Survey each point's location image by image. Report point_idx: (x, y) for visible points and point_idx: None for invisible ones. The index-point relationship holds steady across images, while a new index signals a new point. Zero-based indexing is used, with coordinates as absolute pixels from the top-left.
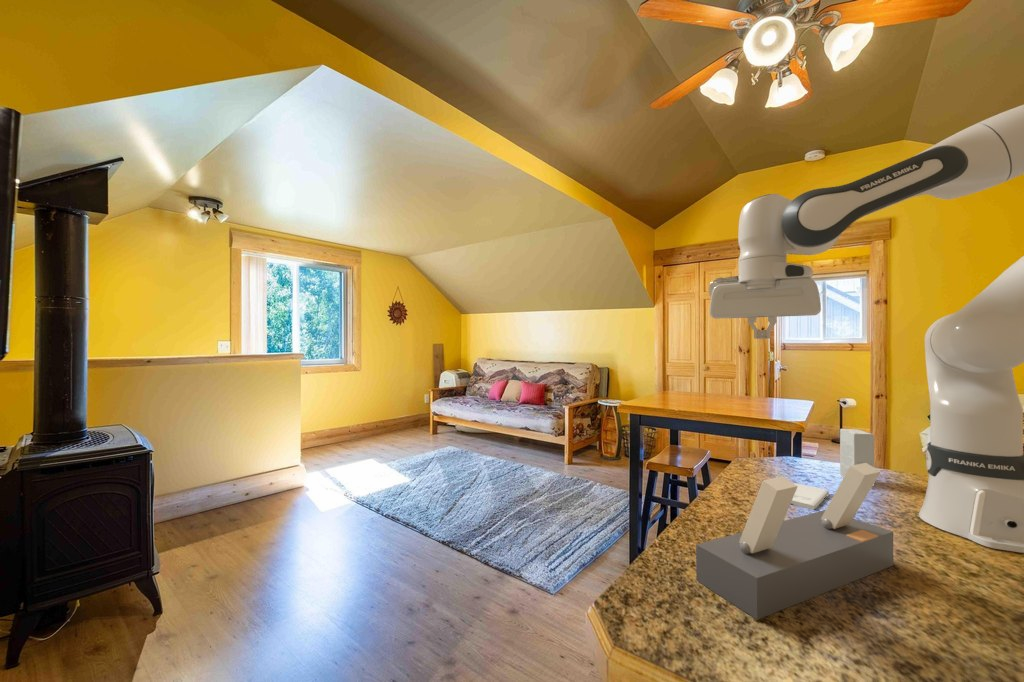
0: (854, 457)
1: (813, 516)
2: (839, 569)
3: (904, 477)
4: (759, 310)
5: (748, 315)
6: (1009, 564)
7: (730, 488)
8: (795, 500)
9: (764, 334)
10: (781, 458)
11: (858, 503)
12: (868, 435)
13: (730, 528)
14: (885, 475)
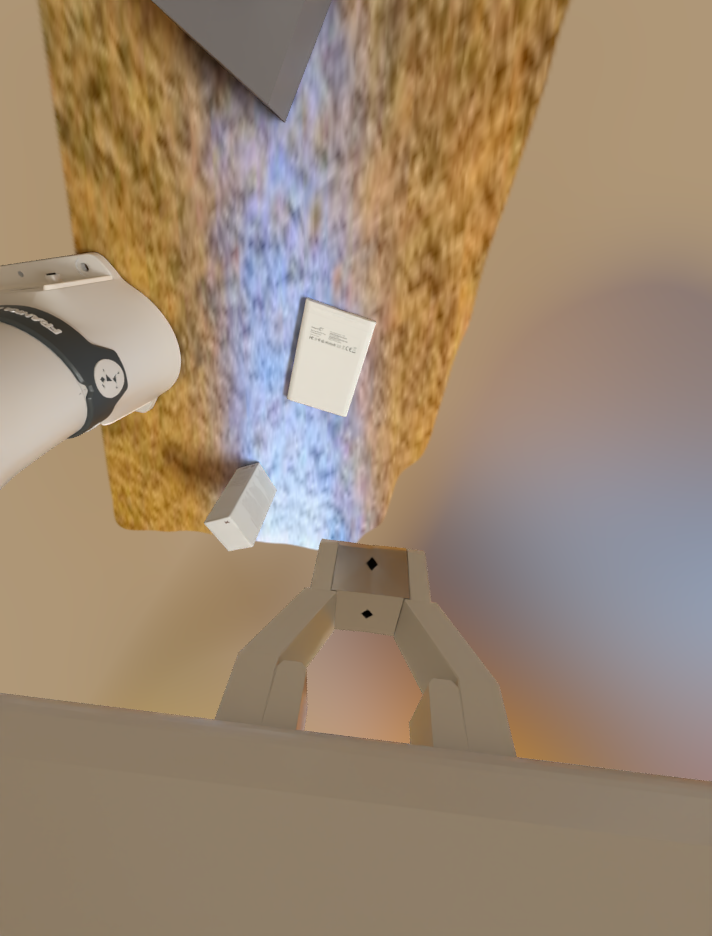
0: (244, 488)
1: (289, 4)
2: None
3: None
4: (389, 861)
5: (528, 777)
6: (71, 190)
7: (436, 348)
8: (332, 313)
9: (353, 559)
10: None
11: None
12: (211, 519)
13: (457, 47)
14: None
